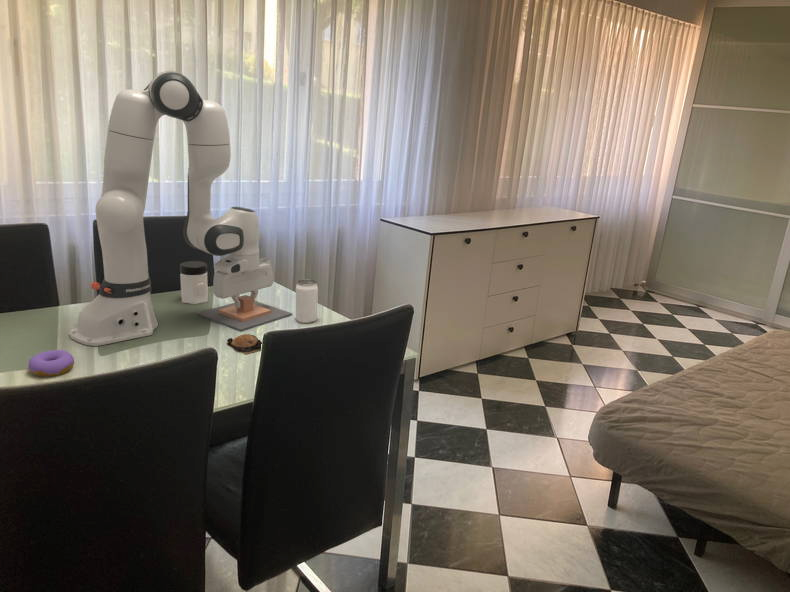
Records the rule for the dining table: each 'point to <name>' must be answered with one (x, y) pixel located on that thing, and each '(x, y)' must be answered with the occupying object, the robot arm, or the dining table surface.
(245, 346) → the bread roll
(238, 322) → the mat
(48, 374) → the donut
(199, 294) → the jar
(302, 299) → the can
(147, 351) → the dining table surface
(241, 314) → the lid
